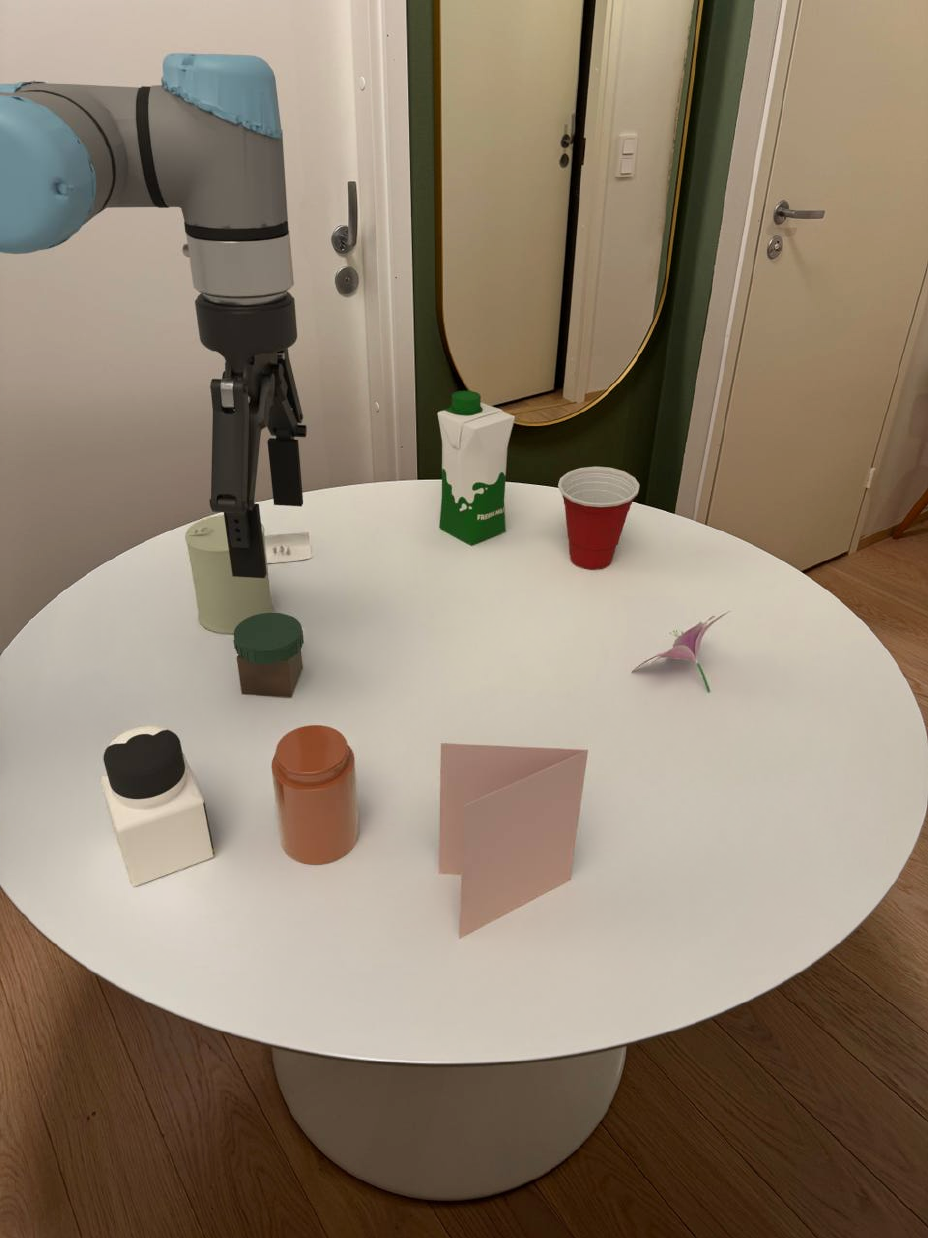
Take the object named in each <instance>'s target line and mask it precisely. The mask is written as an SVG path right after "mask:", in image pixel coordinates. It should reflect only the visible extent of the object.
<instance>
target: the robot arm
mask: <svg viewBox="0 0 928 1238" xmlns="http://www.w3.org/2000/svg"><path fill="white" fill-rule="evenodd" d="M160 81H161V84H156V85H155V84H153V85H151V86H146V85H142V86H141V87H135V86H119V85H117V86H115V85H97V84H75V83H53V82H52V83H49V82H48V83H47V82H46V81H36V80H33V81H20V82H16V83H0V253H2V254H10V255H22V254H23V255H24V254H25V255H26V254H31V253H35V252H39V251H44V250H49V249H52V248H55V247H58V246H61V245H62V244H63V243H65V242H67V241H68V240H69V239H71V238H72V237H73V236H74V235H75V234H77V233H79V231H80V230H81V229H82V227H83V226H85V224H87V223H88V222H89V221H90V220H92V219H94V217H95V216H97V215H99V214H100V213H101V212H103V211H104V210H105V209H110V208H111V209H112V208H159V209H168V208H169V209H170V208H180V210H181V213H182V216H183V221H184V222H183V226H184V233H185V235H186V243H184V244H183V246H182V249H181V251H182V254H183V256H184V257H187V258H189V262H190V263H189V265H190V272H191V279H192V285H193V288H194V289H195V290H196V291H197V292H198V293H199V295H197V297H196V299H195V301H194V304H195V315H196V321H197V329H198V334H199V340H200V343H201V344H202V346H203V347H205V348H206V349H207V350H209V351H211V352H216V353H218V354H219V355H221V356H222V357H223V358H224V360H225V362H224V371H222V376H221V378H212V379H211V381H210V385H209V388H210V396H211V397H210V398H211V407H212V426H211V428H212V430H211V473H210V474H211V476H210V477H211V479H210V499H209V507H210V509H211V511H212V512H213V513H223V515H224V518H225V526H226V533H227V540H228V547H229V555H230V562H231V569H232V576H233V577H249V578H265V576H266V574H267V571H266V562H265V554H264V545H263V536H262V527H261V524H262V521H261V512H260V510H261V509H260V504H259V503H255V498H256V497H255V496H256V485H257V476H258V468H259V467H258V466H259V456H260V447H261V437H262V436H261V435H262V430H265V428H267V430H268V432H269V434H270V436H272V437H270V438H268V440H267V441H266V443H267V451H268V460H269V471H270V480H271V481H270V482H271V490H272V491H271V492H272V500H273V506H284V507H285V506H286V507H302V506H303V504H304V493H303V483H302V481H303V480H302V472H301V471H302V470H301V459H300V457H301V456H300V445H299V439H295V438H306V437H307V434H308V433H307V432H308V429H307V424H302V423H303V420H304V414H303V411H302V406H301V401H300V398H299V395H298V394H299V393H298V390H297V385H296V381H295V377H294V372H293V368H292V364H291V360H290V355H289V348H290V347H292V346H293V345H295V343H296V342H297V339H298V328H297V327H298V326H297V313H296V303H295V301H296V300H295V298H294V296H293V295H292V294H291V293H290V292H289V290H291V289H292V288H293V286H294V285H295V282H294V271H293V270H294V269H293V259H292V258H293V257H292V248H291V237H290V230H289V221H288V220H289V217H288V216H289V215H288V201H287V200H288V199H287V186H286V185H287V184H286V169H285V168H286V167H285V154H284V137H283V134H284V133H283V129H282V124H281V123H282V122H281V115H280V107H279V106H280V105H279V98H278V91H277V82H276V75H275V72H274V70H273V69H272V68H271V66H270V65H269V63H268V62H267V61H266V60H265V59H263V58H262V57H260V56H256V55H251V54H250V55H249V54H230V53H229V54H226V53H190V52H189V53H188V52H187V53H186V52H185V53H184V52H174V53H172V52H171V53H169V54H167V55H166V56H165V57H164V58H163V60H162V77H161V78H160Z"/></svg>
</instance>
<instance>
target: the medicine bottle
mask: <svg viewBox="0 0 928 1238" xmlns="http://www.w3.org/2000/svg"><path fill="white" fill-rule="evenodd" d="M102 759H103V764H104V767H105V772H106V774H104V775H102V776H101V777H100V784H101V788H102V792H103V795H104V799H105V802H106V806H107V809H108V813H109V817H110V820H111V824H112V828H113V831H114V835H115V838H116V841H117V845H118V847H119V848H118V849H119V850H120V854H121V857H122V861H123V863H124V866H125V870H126V874H127V876H128V880H129V883H130V885H132V887H138V886H141V885H144V884H146V883H148V882H151V881H154V880H156V879H159V878H162V877H165V876H167V875H169V874H172V873H175V872H177V871H181V870H183V869H186V868H188V867H192V866H194V865H197V864H199V863H202V862H204V861H207V860H210V859H212V858H213V857H214V856H215V848H214V843H213V839H212V833H211V828H210V823H209V819H208V812H207V808H206V803H205V802H206V801H205V799H204V797H203V795H202V792H201V790H200V787H199V785H198V783H197V780H196V778H195V776H194V773H193V772H192V769H191V766H190V764H189V763H188V760H187V758H186V756H185V753H184V752H183V749H182V743H181V740H180V738H179V736H178V735H177V734H176V733H175V732H173V730H171V729H167V728H166V727H162V726H159V725H158V726H157V725H144V726H138V727H134V728H131V729H129V730H126V731H124V732H122V733H121V734H119V735H117V736H116V737H115V738H114V739H113V740H112V741H111V742H110V743H109V744H108V746H107V747H106V748H105V750H104V753H103V758H102Z"/></svg>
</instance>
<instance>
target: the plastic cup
mask: <svg viewBox="0 0 928 1238" xmlns="http://www.w3.org/2000/svg"><path fill="white" fill-rule="evenodd" d="M557 487H558V490H559V492H560V493H561V495H562V499H563V504H564V512H565V524H566V532H567V539H568V552H569V553H568V555H569V556H570V561H571V562H572V564H574V565H575V566H577V567H579V568H582V569H586V570H593V571H594V570H601V569H605V568H607V567H608V566H609V565H611V562H612V561H613V558H614V555H615V552H616V549H617V546H618V544H619V542H620V539H621V536H622V533H623V532H622V531H623V530H624V526H625V523H626V521H627V520H626V519H627V517H628V514H629V512H630V510H631V506H632V504H633V502H634V499H635V498H636V497H637V496H638V494H639V490H640V483H639V482H638V480H637V479H636V477H635V476H633V475H631V474H630V473H629V472H626V471H624V470H621V469H617V468H613V467H607V466H606V467H605V466H587V467H580V468H577V469H574V470H570V471H567V473H565V474H564V475H563V476H561V477H559V481H558V485H557Z"/></svg>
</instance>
